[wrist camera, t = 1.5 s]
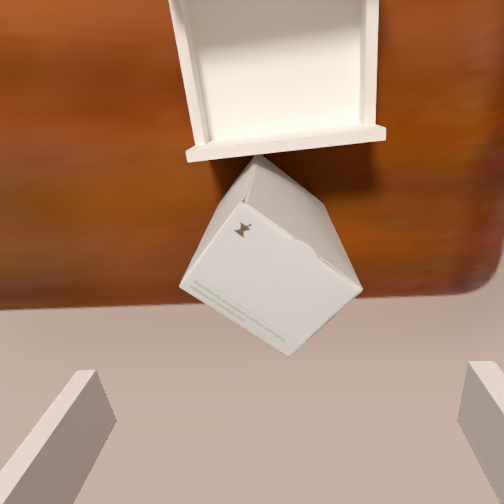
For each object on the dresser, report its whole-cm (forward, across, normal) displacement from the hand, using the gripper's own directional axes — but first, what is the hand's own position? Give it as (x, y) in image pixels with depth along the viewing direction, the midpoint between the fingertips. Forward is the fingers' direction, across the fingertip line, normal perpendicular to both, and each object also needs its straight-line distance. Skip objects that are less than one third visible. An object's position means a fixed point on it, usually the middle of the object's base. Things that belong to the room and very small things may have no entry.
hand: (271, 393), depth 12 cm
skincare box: (+22, -1, +1) cm, 22 cm away
